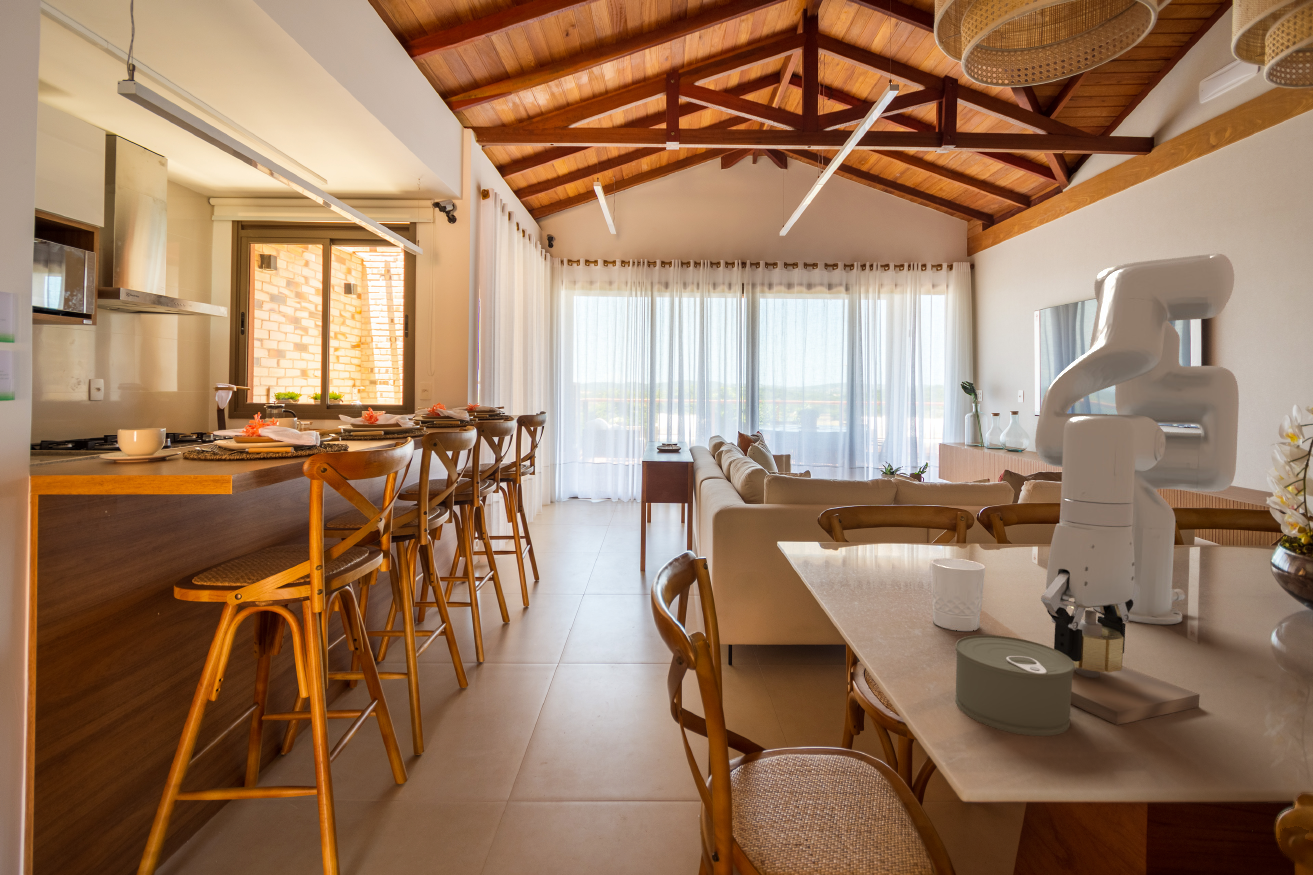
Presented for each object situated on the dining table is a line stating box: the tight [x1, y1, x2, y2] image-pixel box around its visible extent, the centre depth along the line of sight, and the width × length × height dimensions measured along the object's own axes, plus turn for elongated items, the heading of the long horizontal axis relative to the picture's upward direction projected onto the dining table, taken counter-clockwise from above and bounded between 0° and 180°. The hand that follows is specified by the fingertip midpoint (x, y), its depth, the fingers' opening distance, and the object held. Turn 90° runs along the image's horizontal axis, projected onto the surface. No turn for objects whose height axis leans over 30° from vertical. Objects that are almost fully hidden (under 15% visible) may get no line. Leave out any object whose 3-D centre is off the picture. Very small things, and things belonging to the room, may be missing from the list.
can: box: [954, 634, 1075, 737], centre depth 75 cm, size 12×12×7 cm
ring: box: [1073, 626, 1124, 673], centre depth 82 cm, size 7×7×4 cm
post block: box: [1049, 609, 1201, 726], centre depth 82 cm, size 14×17×10 cm
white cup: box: [930, 557, 986, 632], centre depth 104 cm, size 8×8×10 cm
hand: (1088, 652), depth 82 cm, fingers open, 6 cm apart
